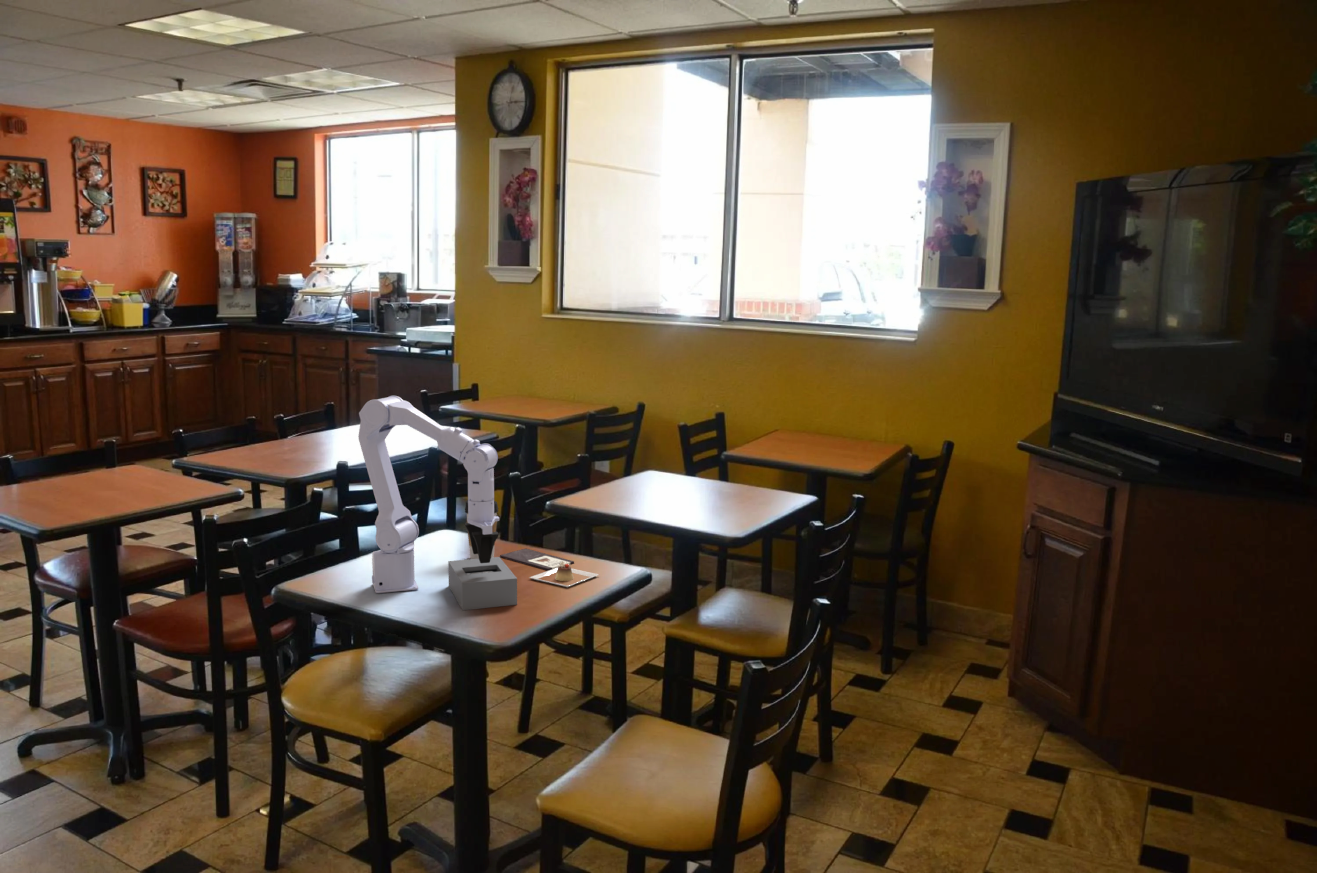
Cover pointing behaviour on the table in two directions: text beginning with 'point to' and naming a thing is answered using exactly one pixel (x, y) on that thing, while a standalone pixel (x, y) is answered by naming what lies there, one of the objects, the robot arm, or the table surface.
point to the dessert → (564, 574)
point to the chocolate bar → (536, 559)
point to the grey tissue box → (482, 583)
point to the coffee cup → (475, 556)
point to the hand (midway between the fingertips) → (481, 558)
